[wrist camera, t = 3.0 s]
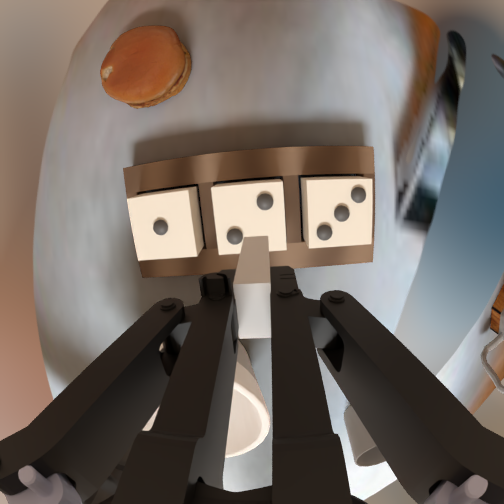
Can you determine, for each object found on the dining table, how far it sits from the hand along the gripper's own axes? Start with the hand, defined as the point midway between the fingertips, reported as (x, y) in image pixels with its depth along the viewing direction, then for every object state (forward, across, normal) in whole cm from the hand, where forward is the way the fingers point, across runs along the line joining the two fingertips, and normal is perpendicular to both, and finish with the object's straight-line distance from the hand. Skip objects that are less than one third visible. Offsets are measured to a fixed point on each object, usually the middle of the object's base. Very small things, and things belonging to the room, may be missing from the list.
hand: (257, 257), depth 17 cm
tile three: (+10, +7, +1) cm, 13 cm away
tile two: (+10, -1, +1) cm, 10 cm away
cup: (+12, +17, -34) cm, 40 cm away
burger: (+13, -11, +18) cm, 24 cm away
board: (+12, -1, +1) cm, 12 cm away
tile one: (+10, -9, +1) cm, 13 cm away
